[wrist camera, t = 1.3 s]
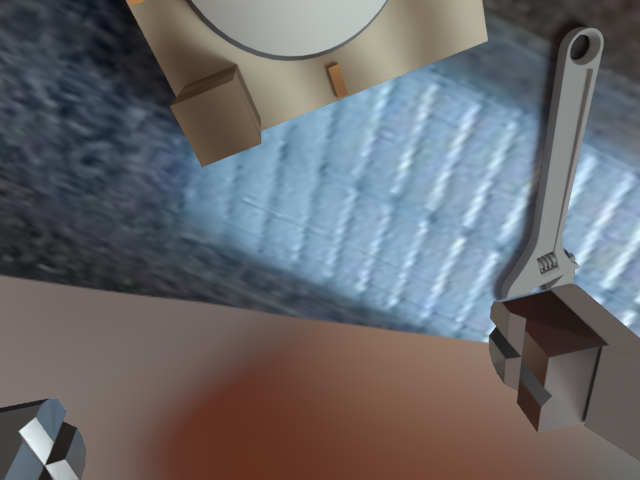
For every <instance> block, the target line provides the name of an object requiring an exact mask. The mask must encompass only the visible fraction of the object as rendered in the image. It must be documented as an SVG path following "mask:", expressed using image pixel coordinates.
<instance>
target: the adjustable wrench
mask: <svg viewBox="0 0 640 480" xmlns="http://www.w3.org/2000/svg"><path fill="white" fill-rule="evenodd" d="M579 35H586V36H588V38H589V47H588V50H587V52H586V54H585V55H584V56H583V57H582V58H580V59H578V60H573V59H571V57H570V49H571V46H572V44H573V42H574V40H575V39H576V38H577V37H578V36H579ZM603 41H604V40H603V36H602V34H601V33H600V31H599V30H597V29H595V28H587V27H578V28H575V29H573V30H572V31H570V32H569V33H568V34H567V35H566V36H565V37H564V39H563V40H562V42H561V44H560V48H559V53H558V59H557V66H556V73H555V79H554V86H553V92H552V99H551V106H550V112H549V119H548V126H547V132H546V139H545V145H544V152H543V159H542V165H541V172H540V179H539V185H538V192H537V198H536V205H535V212H534V218H533V225H532V231H531V235H530V239H529V241H528V243H527V245H526V247H525V249H524V251H523V253H522V254H521V256H520V258H519V259H518V261H517V263H516V264H515V266H514V267H513V268H512V270H511V271H510V273H509V274H508V276H507V277H506V278H505V280H504V282H503V284H502V287H501V297H502V299H506V298H510V297H515V296H519V295H523V294H528V293H530V292H531V291H532V290H533V289H534V288H536V287H539V286H541V285H543V284H545V286H546V289H548V288H552V287H556V286H561V285H565V284H569V283H571V284H573V280H574V275H575V269H577V268H579V265H578V264H577V263H576V262H575V257H574V255H573V254H572V253H569V254H567V255H566V254H565V252H564V250H563V248H562V232H563V228H564V223H565V219H566V214H567V209H568V205H569V200H570V196H571V191H572V187H573V182H574V177H575V173H576V168H577V164H578V159H579V155H580V150H581V145H582V141H583V136H584V132H585V127H586V123H587V118H588V113H589V109H590V104H591V100H592V95H593V91H594V86H595V81H596V77H597V72H598V68H599V63H600V59H601V54H602V49H603Z"/></svg>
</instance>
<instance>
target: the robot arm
mask: <svg viewBox="0 0 640 480" xmlns="http://www.w3.org/2000/svg"><path fill="white" fill-rule="evenodd" d="M490 318H491V320H492V321H493V322H494V324H495V325H496V327H495V329H494V330H493V331H492V333H491V334H490V335H489V352H490V356H491V360H492V363H493V366H494V368H495V370H496V372H497V374H498V375H499V377H500V378H501V380H502V381H503V383H504V384H505V385H507V386H509V387H511V388H513V389H515V390H517V391H518V396H517V404H518V405H519V407H520V408H521V410H522V411H523V412H524V414H525V415H526V417H527V418H528V419H529V421H530V423H531V424H532V425H533V427H534V428H535V430H536V431H537V433H539V432H544V431H549V430H554V429H559V428H563V427H568V426H573V425H578V424H582V423H585V424H584V426H585V427H587V428H588V429H590V430H592V431H593V432H595V433H597V434H598V435H600V436H601V437H603V438H604V439H606V440H607V441H609V442H611V443H612V444H614V445H615V446H617V447H618V448H620V449H622V450H623V451H625V452H626V453H628V454H629V455H631V456H633V457H634V458H636V459H637V460H639V461H640V338H639V337H638V336H637V335H636V334H634V333H633V332H632V331H631V330H630V329H629V328H627V327H626V326H625V325H624V324H623V323H621V322H620V321H619V320H618V319H617V318H616V317H614V316H613V315H612V314H611V313H610V312H608V311H607V310H606V309H605V308H604V307H603V306H601V305H600V304H599V303H598V302H597V301H595V300H594V299H593V298H592V297H591V296H590V295H588V294H587V293H586V292H585V291H584V290H582V289H581V288H580V287H579V286H577V285H574V284H571V283H569V284H565V285H561V286H556V287H552V288H548V289H545V290H541V291H537V292H532V293H528V294H523V295H519V296H515V297H510V298H506V299H501V300H497V301H494V302H493V304H492V306H491V313H490ZM65 415H66V410H65V409H64V407H63V406H62V404H61V403H60V402H59V400H58V399H44V400H39V401H34V402H29V403H23V404H18V405H13V406H8V407H4V408H0V480H81V478H82V474H83V471H84V468H85V460H86V448H85V444H84V440H83V437H82V435H81V433H80V432H79V430H78V429H77V428H76V427H74V426H72V425H69V424H68V423H65V422H63V421H64V417H65Z"/></svg>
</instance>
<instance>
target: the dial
mask: <svg viewBox="0 0 640 480" xmlns="http://www.w3.org/2000/svg"><path fill="white" fill-rule="evenodd" d="M145 1H147V0H128V2H129V4H130V6H135V5H138V4H140V3H142V2H145ZM192 2H193V3H194V4H195V5H196V7H197V8H198V9H199V10H200V11H201V13H202V14H203V15H204V16H205V17H206V18H207V19H208V20H209V21H210V22H211V23H212V24H213V25H215V26H216V27H217V28H218V29H219V30H221V31H222V32H223V33H225V34H226V35H227V36H229V37H230V38H232V39H234V40H235V41H237V42H239V43H241V44H243V45H244V46H247V47H250V48H252V49H255V50H257V51H260V52H264V53H268V54H272V55H281V56H304V55H309V54H315V53H319V52H322V51H325V50H328V49H331V48H333V47H335V46H337V45H339V44H341V43H343V42H345V41H346V40H348V39H349V38H351V37H352V36H354V35H355V34H357V33H358V32H359V31H360V30H361V29H362V28H363V27H365V26H366V25H367V24H368V23H369V22H370V21H371V20H372V18H373V17H374V16H375V15H376V14H377V13H378V12H379V10H380V9H381V8H382V6H383V5H384V3H385V2H386V0H192Z"/></svg>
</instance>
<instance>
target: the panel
mask: <svg viewBox="0 0 640 480" xmlns="http://www.w3.org/2000/svg"><path fill="white" fill-rule="evenodd" d="M126 2H127V4H128V5H129V7H130V9H131V11H132V13H133V15H134V17H135V19H136V21H137V23H138V25H139V26H140V28H141V30H142V32H143V34H144V36H145V38H146V40H147V42H148V44H149V46H150V48H151V49H152V51H153V53H154V55H155V57H156V59H157V61H158V63H159V65H160V67H161V69H162V71H163V72H164V74H165V76H166V78H167V80H168V82H169V84H170V86H171V88H172V90H173V92H174V93H175V95H176V97H177V96H178V94H179V93H180V92H181V90H182V89H183V88H184V86H186V85H188V84H191V83H193V82H196V81H198V80H201V79H203V78H205V77H208V76H210V75H213V74H215V73H218V72H220V71H222V70H225V69H227V68H230V67H232V66H235V65H238V67H239V69H240V72H241V74H242V76H243V79H244V81H245V83H246V86H247V88H248V90H249V92H250V95H251V97H252V99H253V102H254V104H255V106H256V109H257V111H258V113H259V116H260V118H261V131H263V130H265V129H268V128H270V127H273V126H275V125H278V124H280V123H283V122H285V121H288V120H290V119H293V118H295V117H298V116H300V115H303V114H305V113H308V112H310V111H313V110H315V109H318V108H320V107H323V106H325V105H328V104H330V103H333V102H335V101H338V100H340V99H343V98H345V97H348V96H350V95H353V94H355V93H358V92H360V91H363V90H365V89H368V88H370V87H373V86H375V85H378V84H380V83H383V82H385V81H388V80H390V79H393V78H396V77H398V76H401V75H403V74H406V73H408V72H411V71H413V70H416V69H418V68H421V67H423V66H426V65H428V64H431V63H433V62H436V61H438V60H441V59H443V58H446V57H448V56H451V55H453V54H456V53H458V52H461V51H463V50H466V49H468V48H471V47H473V46H476V45H478V44H481V43H483V42H486V41H488V39H487V32H486V25H485V18H484V11H483V4H482V0H386V2H385V3H384V5H383V6H382V8H381V9H380V10H379V12H378V13H377V14H376V15H375V16H374V17H373V18H372V20H371V21H370V22H369V23H368V24H367V25H366V26H365V27H363V28H362V29H361V30H360V31H359V32H358V33H357V34H355V35H354V36H352V37H351V38H349V39H348V40H346V41H345V42H343V43H341V44H339V45H337V46H335V47H333V48H331V49H328V50H325V51H322V52H319V53H315V54H309V55H304V56H281V55H272V54H268V53H264V52H260V51H257V50H255V49H252V48H250V47H247V46H244V45H243V44H241V43H239V42H237V41H235V40H234V39H232V38H230V37H229V36H227V35H226V34H225V33H223V32H222V31H221V30H219V29H218V28H217V27H216V26H215V25H213V24H212V23H211V22H210V21H209V20H208V19H207V18H206V17H205V16H204V15H203V14H202V13H201V11H200V10H199V9H198V8H197V7H196V5H195V4H194V3H193V2H192V0H147V1H145V2H142V3H140V4H138V5H135V6H130V4H129V2H128V0H126Z"/></svg>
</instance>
